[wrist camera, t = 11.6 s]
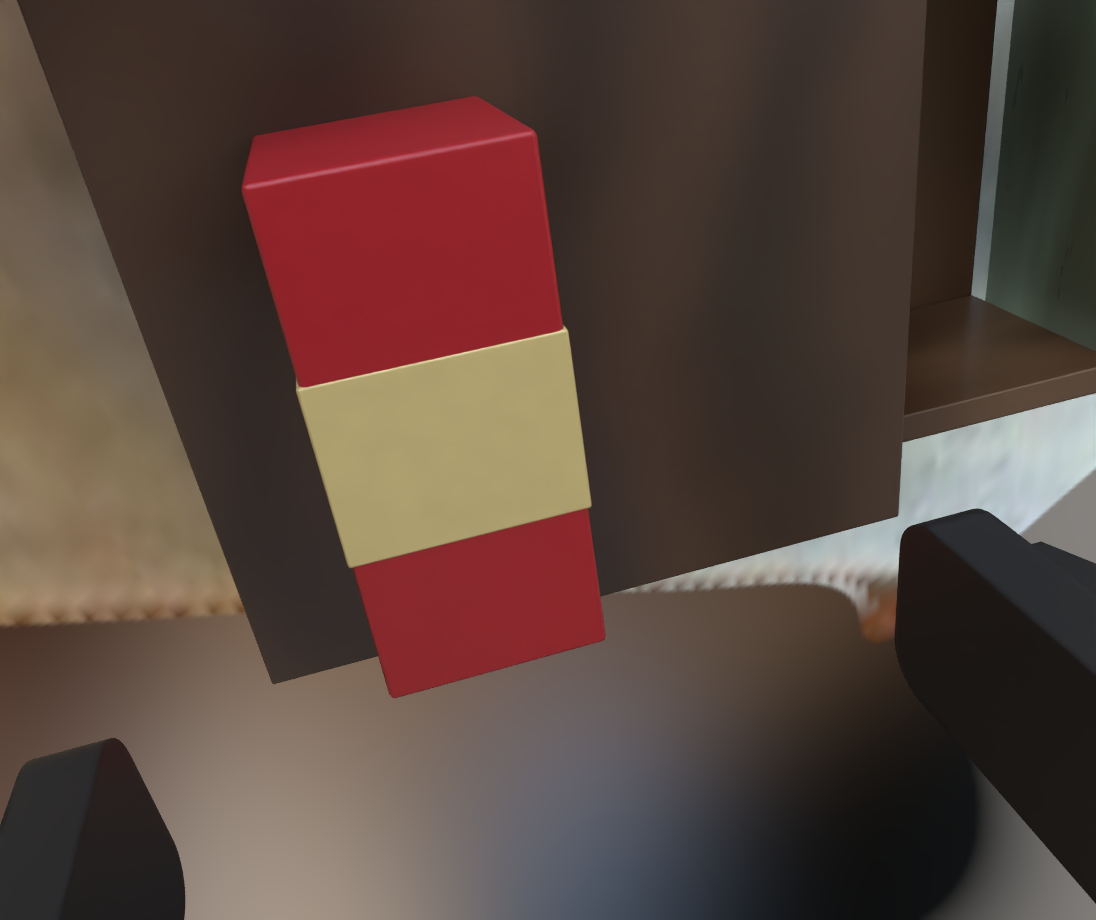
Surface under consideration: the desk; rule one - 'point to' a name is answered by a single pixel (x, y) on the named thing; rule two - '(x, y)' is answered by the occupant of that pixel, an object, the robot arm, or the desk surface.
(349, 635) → the cabinet
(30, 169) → the desk surface
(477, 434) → the red and yellow block
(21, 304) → the desk surface
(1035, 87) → the drawer
